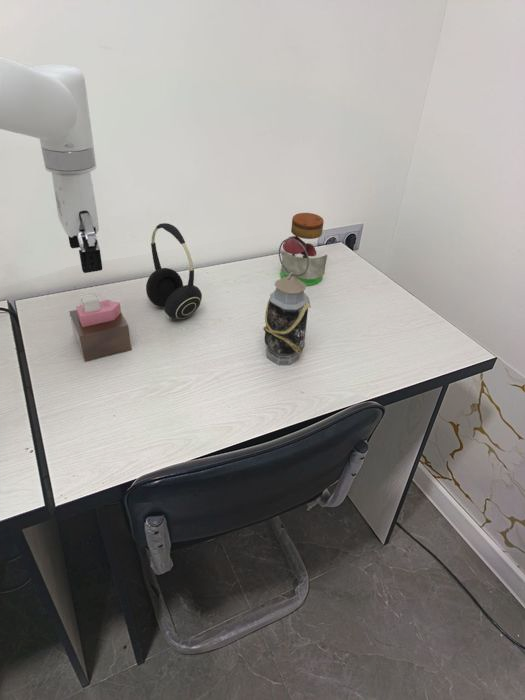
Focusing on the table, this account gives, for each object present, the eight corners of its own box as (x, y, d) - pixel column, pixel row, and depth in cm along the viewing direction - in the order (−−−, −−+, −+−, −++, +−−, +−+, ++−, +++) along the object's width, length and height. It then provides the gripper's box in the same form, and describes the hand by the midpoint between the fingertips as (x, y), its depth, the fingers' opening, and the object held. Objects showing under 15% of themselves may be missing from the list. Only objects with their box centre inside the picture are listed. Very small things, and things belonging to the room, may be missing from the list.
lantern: (311, 356, 99) (330, 241, 83) (285, 374, 94) (299, 256, 79) (279, 337, 103) (291, 224, 88) (252, 353, 98) (259, 237, 83)
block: (84, 362, 93) (79, 336, 90) (74, 335, 99) (69, 311, 96) (131, 350, 97) (128, 325, 93) (118, 325, 103) (115, 301, 99)
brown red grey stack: (270, 264, 128) (274, 209, 118) (317, 263, 130) (325, 208, 121) (279, 288, 119) (285, 230, 109) (329, 286, 121) (339, 229, 112)
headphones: (172, 290, 115) (167, 208, 103) (211, 320, 107) (210, 234, 94) (140, 302, 110) (130, 217, 98) (177, 334, 102) (172, 245, 90)
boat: (82, 327, 92) (77, 305, 89) (77, 316, 94) (73, 295, 91) (124, 318, 95) (121, 296, 92) (118, 307, 98) (115, 287, 95)
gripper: (34, 143, 80) (54, 241, 91) (54, 178, 68) (74, 285, 79) (82, 140, 83) (95, 235, 94) (108, 173, 72) (121, 277, 82)
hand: (86, 258), depth 86 cm, fingers open, 9 cm apart
